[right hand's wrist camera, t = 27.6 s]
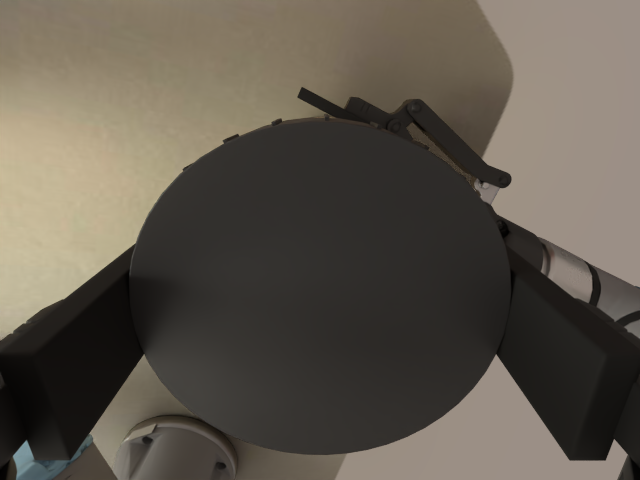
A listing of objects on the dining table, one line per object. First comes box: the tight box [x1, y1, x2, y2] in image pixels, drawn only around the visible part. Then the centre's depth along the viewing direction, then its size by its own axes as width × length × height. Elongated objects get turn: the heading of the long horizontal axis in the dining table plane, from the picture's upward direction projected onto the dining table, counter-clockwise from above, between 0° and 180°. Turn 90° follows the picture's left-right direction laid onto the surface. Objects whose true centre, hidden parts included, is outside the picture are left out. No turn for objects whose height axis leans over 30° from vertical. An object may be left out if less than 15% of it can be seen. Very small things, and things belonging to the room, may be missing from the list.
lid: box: [129, 114, 512, 455], centre depth 11 cm, size 11×11×2 cm
